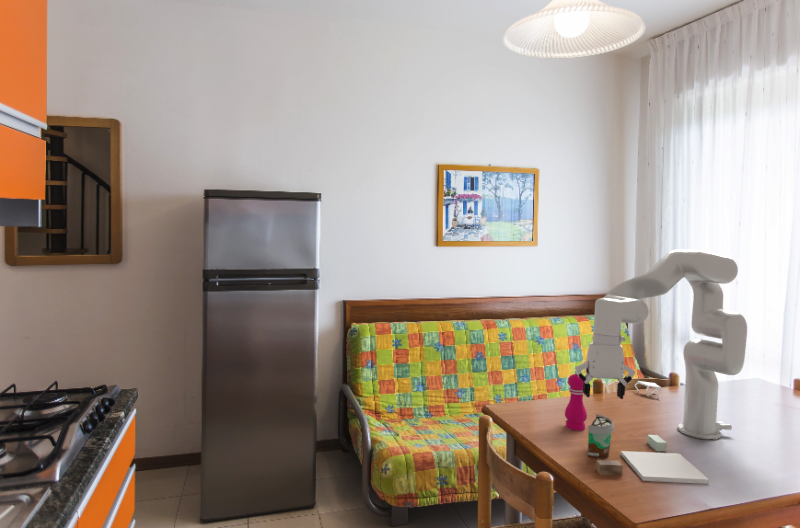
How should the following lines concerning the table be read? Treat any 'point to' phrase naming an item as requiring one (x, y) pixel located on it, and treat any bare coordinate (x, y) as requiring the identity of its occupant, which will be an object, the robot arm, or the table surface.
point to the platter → (663, 467)
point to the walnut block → (609, 467)
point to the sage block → (656, 442)
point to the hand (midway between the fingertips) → (603, 396)
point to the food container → (600, 437)
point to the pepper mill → (575, 404)
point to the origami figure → (649, 386)
